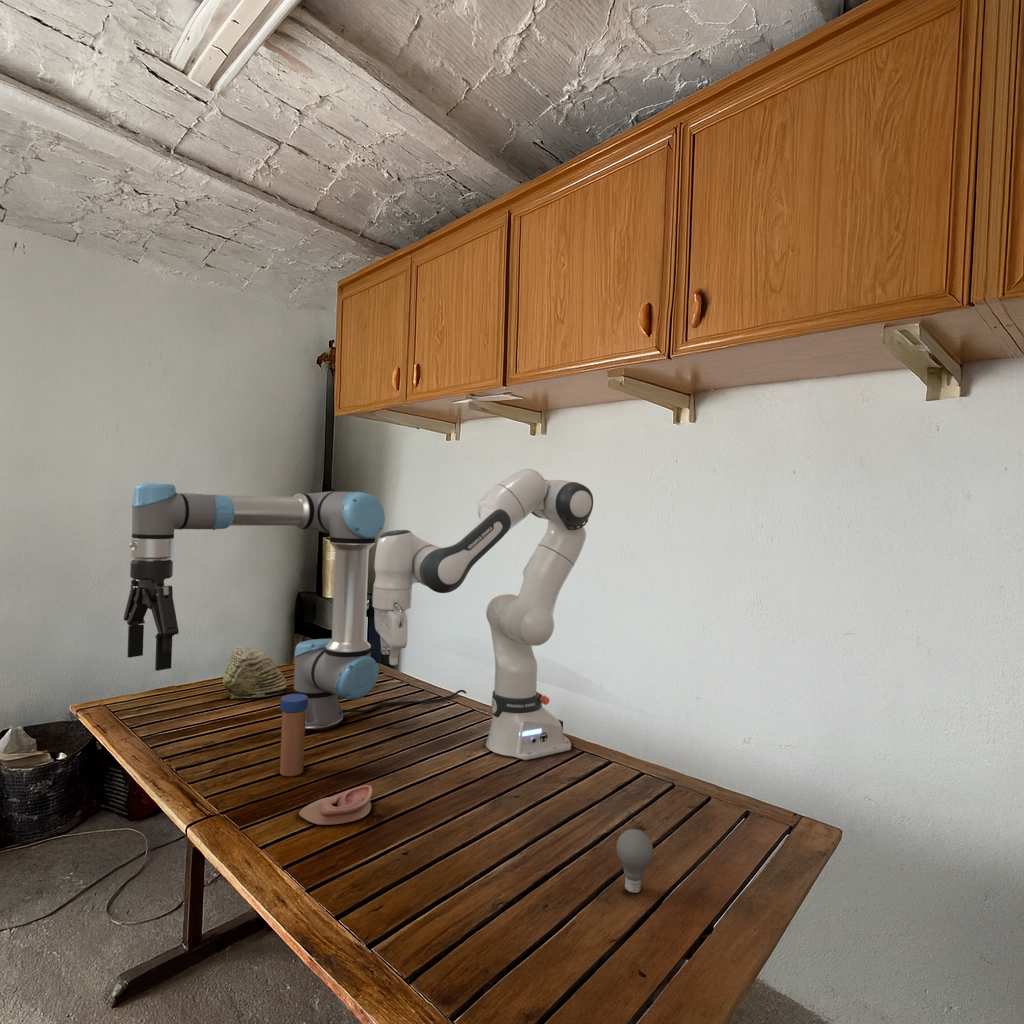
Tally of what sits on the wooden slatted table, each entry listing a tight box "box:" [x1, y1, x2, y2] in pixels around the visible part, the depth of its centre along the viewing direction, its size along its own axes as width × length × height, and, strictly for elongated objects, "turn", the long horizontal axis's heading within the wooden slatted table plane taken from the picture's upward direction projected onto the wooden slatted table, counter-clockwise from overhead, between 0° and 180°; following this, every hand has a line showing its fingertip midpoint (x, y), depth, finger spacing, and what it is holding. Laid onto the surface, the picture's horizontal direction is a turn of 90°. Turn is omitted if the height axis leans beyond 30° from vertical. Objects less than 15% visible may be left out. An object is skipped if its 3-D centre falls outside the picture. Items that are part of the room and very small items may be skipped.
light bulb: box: [615, 828, 654, 894], centre depth 106 cm, size 6×6×10 cm
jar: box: [279, 710, 306, 777], centre depth 145 cm, size 5×5×17 cm
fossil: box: [222, 646, 288, 699], centre depth 198 cm, size 9×18×15 cm, turn 132°
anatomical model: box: [298, 784, 373, 826], centre depth 127 cm, size 13×4×12 cm
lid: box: [279, 693, 308, 713], centre depth 145 cm, size 6×6×2 cm
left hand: (148, 662), depth 129 cm, fingers open, 13 cm apart
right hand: (389, 659), depth 147 cm, fingers open, 8 cm apart
